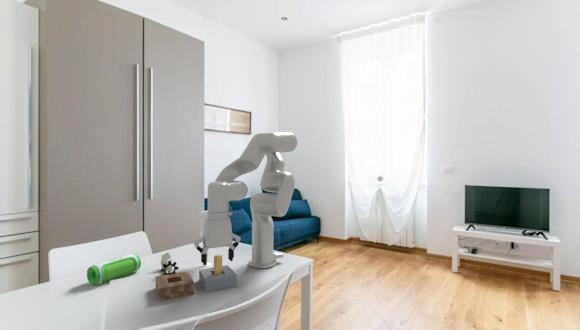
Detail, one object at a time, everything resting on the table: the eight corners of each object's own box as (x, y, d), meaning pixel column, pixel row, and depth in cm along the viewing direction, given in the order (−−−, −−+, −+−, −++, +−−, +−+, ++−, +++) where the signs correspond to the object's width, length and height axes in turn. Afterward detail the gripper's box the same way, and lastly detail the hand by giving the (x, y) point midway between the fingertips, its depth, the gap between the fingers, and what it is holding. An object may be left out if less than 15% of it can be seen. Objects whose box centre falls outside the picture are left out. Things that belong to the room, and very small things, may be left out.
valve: (156, 269, 129) (160, 279, 119) (157, 253, 129) (160, 262, 118) (173, 266, 132) (178, 276, 122) (173, 251, 132) (178, 259, 122)
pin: (220, 280, 115) (221, 254, 115) (222, 283, 113) (223, 256, 112) (212, 282, 114) (213, 255, 114) (214, 285, 111) (215, 257, 111)
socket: (227, 277, 121) (227, 265, 121) (236, 288, 111) (236, 274, 111) (199, 282, 116) (199, 269, 115) (206, 294, 106) (206, 280, 106)
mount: (188, 284, 114) (188, 271, 114) (194, 297, 104) (194, 282, 104) (155, 290, 108) (155, 276, 108) (158, 304, 99) (158, 288, 99)
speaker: (131, 269, 129) (131, 251, 128) (141, 272, 125) (141, 254, 125) (85, 284, 113) (85, 263, 113) (96, 288, 110) (96, 267, 110)
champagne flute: (216, 264, 136) (216, 210, 135) (212, 269, 129) (213, 212, 128) (200, 264, 136) (201, 209, 135) (196, 269, 129) (197, 212, 128)
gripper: (237, 212, 120) (237, 255, 121) (191, 215, 112) (191, 262, 112) (244, 215, 113) (243, 261, 114) (196, 219, 105) (195, 269, 106)
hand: (217, 262), depth 113 cm, fingers open, 9 cm apart
